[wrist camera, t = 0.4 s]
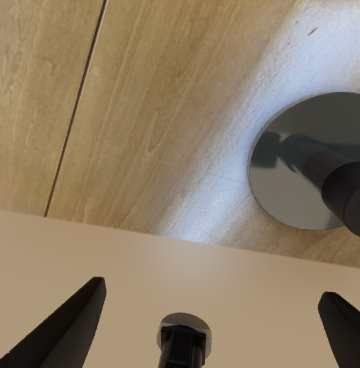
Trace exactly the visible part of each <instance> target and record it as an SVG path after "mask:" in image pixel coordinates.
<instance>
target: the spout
mask: <svg viewBox="0 0 360 368" xmlns="http://www.w3.org/2000/svg"><path fill="white" fill-rule="evenodd" d="M321 197H322V201H323V203H324V204H325V206H326V207H327V208H328V209H329V210H330V211H331V212H332V213H333V214H334V215H335V216H336V217H337V218H338V219H339V220H340V221H341V222H342V223H343V224H344V225H345V226H346V227H347V228H348V229H349V230H350V231H351V232H352V233H354V234H355V235H357V236H359V237H360V161H356V162H351V163H347V164H344V165H342V166H340V167H338V168H336V169H335V170H334V171H332V172H331V173H330V174H329V175H328V176H327V178H326V179H325V181H324V183H323V185H322V189H321Z"/></svg>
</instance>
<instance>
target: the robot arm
mask: <svg viewBox="0 0 360 368" xmlns="http://www.w3.org/2000/svg"><path fill="white" fill-rule="evenodd" d="M105 297H106V285H105V280H104V278H103V277H93V278H92V279H91V280H89V281H88V282H87V283H86V284H85V285H84V286H83V287H82V288H80V289H79V290H78V291H77V292H76V293H75V294H74V295H73V296H71V297H70V298H69V299H68V300H67V301H66V302H65V303H64V304H62V305H61V306H60V307H59V308H58V309H57V310H56V311H54V313H52V314H51V315H50V316H49V317H48V318H47V319H45V320H44V321H43V322H42V323H41V324H40V325H39V326H37V327H36V328H35V329H34V330H33V331H32V332H31V333H30V334H29V335H27V336H26V337H25V338H24V339H23V340H22V341H20V342H19V343H18V344H17V345H16V346H15V347H14V348H13V349H11V350H10V352H9V353H7V354H6V355H4V356H3V357H2V358H1V359H0V368H82V367H83V364H84V361H85V359H86V356H87V354H88V351H89V349H90V346H91V343H92V341H93V338H94V336H95V332H96V329H97V325H98V322H99V319H100V315H101V311H102V308H103V305H104V301H105ZM318 311H319V314H320V317H321V320H322V323H323V326H324V329H325V331H326V335H327V338H328V340H329V343H330V346H331V349H332V352H333V354H334V357H335V359H336V361H337V364H338V366H339V368H360V311H359V310H357V309H356V308H355V307H354V306H352V305H351V304H350V303H349V302H347V301H346V300H345V299H343V298H342V297H341V296H340V295H338V294H337V293H335V292H324V293H323V295H322V297H321V299H320V301H319V304H318ZM160 332H161V356H160V361H159V365H158V368H202V365H204V364H205V351H206V334H205V333H202V332H197V331H191V330H185V329H179V328H173V327H167V326H162V327H161V330H160Z"/></svg>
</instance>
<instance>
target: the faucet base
mask: <svg viewBox="0 0 360 368" xmlns="http://www.w3.org/2000/svg"><path fill="white" fill-rule="evenodd" d="M356 161H360V94H357V93H349V92H334V93H321V94H316V95H311V96H308V97H305V98H302V99H299V100H297V101H295V102H293V103H291V104H289V105H287V106H286V107H284V108H282V109H281V110H280V111H278V112H277V113H276V114H274V115H273V116H272V117H271V118H270V119H269V120H268V121H267V122H266V123H265V125H264V126H263V127H262V128H261V130H260V131H259V133H258V134H257V136H256V138H255V140H254V142H253V144H252V146H251V149H250V152H249V157H248V166H247V171H248V179H249V183H250V186H251V189H252V191H253V194H254V196H255V198H256V200H257V201H258V203H259V204H260V206H261V207H262V208H263V209H264V210H265V211H266V212H267V213H268V214H269V215H270V216H272V217H273V218H274V219H276V220H278V221H280V222H282V223H284V224H286V225H289V226H291V227H295V228H299V229H306V230H326V229H332V228H337V227H341V226H345V225H344V224H343V223H342V222H341V221H340V220H339V219H338V218H337V217H336V216H335V215H334V214H333V213H332V212H331V211H330V210H329V209H328V208H327V207H326V206H325V204H324V203H323V201H322V197H321V189H322V185H323V183H324V181H325V179H326V178H327V176H328V175H329V174H330V173H331V172H332V171H334V170H335V169H336V168H338V167H340V166H342V165H344V164H347V163H351V162H356Z"/></svg>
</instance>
